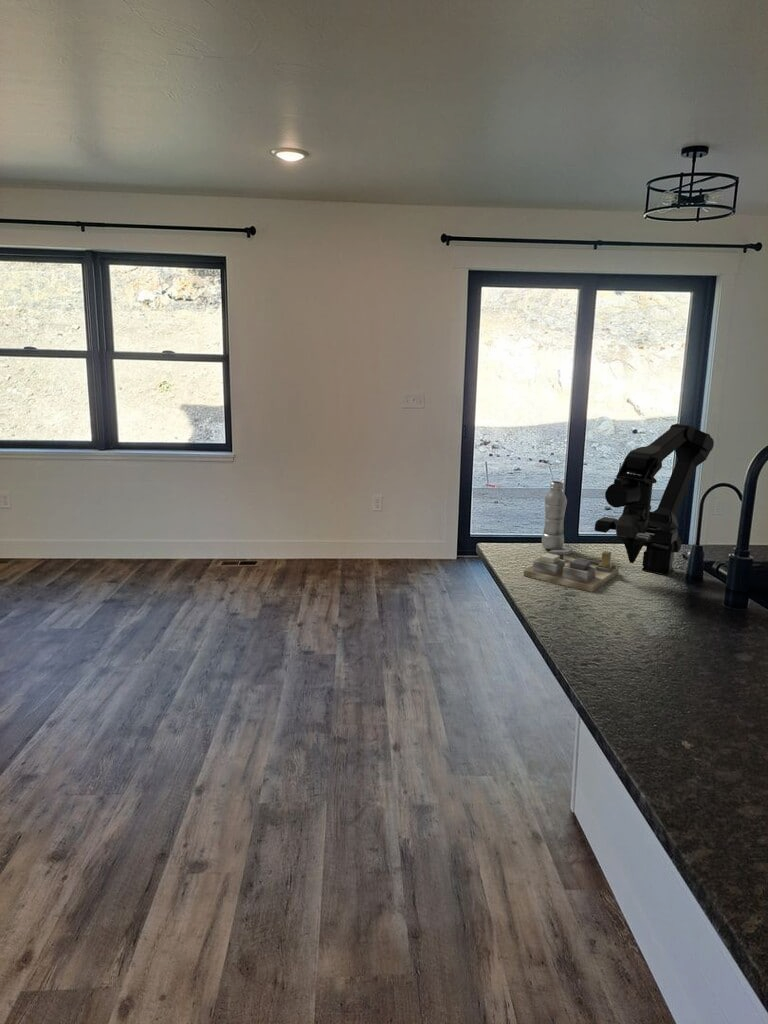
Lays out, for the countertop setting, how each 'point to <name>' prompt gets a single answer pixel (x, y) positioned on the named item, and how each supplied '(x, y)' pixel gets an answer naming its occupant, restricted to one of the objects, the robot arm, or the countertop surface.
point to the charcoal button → (580, 564)
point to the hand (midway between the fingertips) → (631, 562)
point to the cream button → (549, 558)
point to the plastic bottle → (554, 517)
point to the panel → (571, 573)
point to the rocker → (560, 552)
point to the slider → (606, 560)
